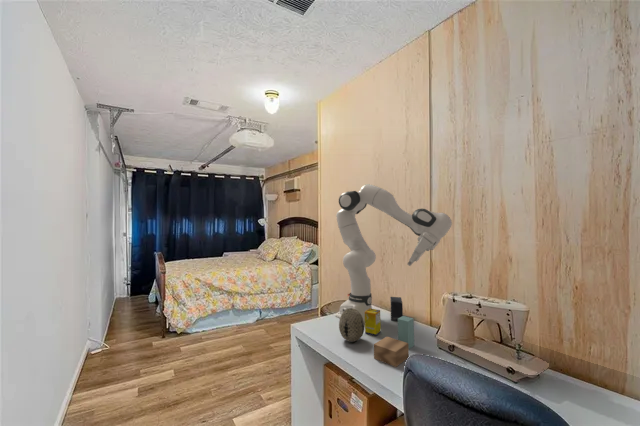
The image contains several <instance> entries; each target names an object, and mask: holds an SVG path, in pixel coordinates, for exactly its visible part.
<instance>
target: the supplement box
mask: <svg viewBox="0 0 640 426" xmlns="http://www.w3.org/2000/svg"><path fill="white" fill-rule="evenodd" d="M381 325H382V324H381V310H380V309H376V308H372V309H371V308H369V309H368V310H366V311H365V323H364V334H365V335H370V336H373V337H377V336H378V335H379V334H380V333H381V331H382V329H381V327H382V326H381Z"/></svg>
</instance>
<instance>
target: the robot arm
mask: <svg viewBox="0 0 640 426" xmlns="http://www.w3.org/2000/svg"><path fill="white" fill-rule="evenodd" d="M394 196H395V195H393V193H391V192H389V191H388V190H386V189H384V188H381V187H380V186H377V185H373V184H370V183H367V184H364V185H362V186H361V188H360V189H359V191H357V190H353V191H352V190H351V191H350V190H349V191H345V192H342V193H341V195H339V197H338V205H339V207H340V208H341V209H339V210H338V211H337V212H336V214H335V217H336V222H337V226H338V230H339V233H340V236H341V238H342V239H341V240H342V241H343V243H344V244H345V245H346V246H347V247H348V249H350V251H349V252H347V253H345V254H344V255H343V257H342V264H343V266H344V268H345V269H346V270H347V272H348V276H349V279H350V281H349V282H350V292H349V293H347V297H348V299H347V300H345V301H344V302H343V303H341V305H340V306H339V311H338V312H336V314H335V317H337V318H338V319H340V317H341V315H342V313H343V312H344V311H345V310H346V309H349V308H354V309H356V310H357V311H359V313H360V314H361V315H362V318H363V321H364V324H365V311H366V310H368V309H369V308H371V309H373V307H372V305H373V304H372V303H373V300H372V299H373V298H372V297H373V295H372V293H371V291H372V290H371V289H372V288H371V286H372V285H371V278H370V277H369V276H368V272H367V268H368V267H371V266H372V265H373V264H375V261H376V259H377V256H376V252H375V251H374V250H373V249H371V247H370V246H369V245H368V243H367V242H366V240H365V239H364V236H363V235H362V232H361V229H360V227H359V223H358V221H357V219H356V215H358V214H360V213H361V212H362V211H363V210H364V209H366V207H367V206H368V205H369V206H371V207H373V208H374V209H377V210H378V211H380V212H383V213H384V214H386V215H388V216H389V217H392V218H393V219H394V220H396V221H398V222H400V223H401V224H403V225H404V226H406V227H408V228H409V229H411V231H412V232H413V233H414V234H415V235H416V236H418V238H417V245H416V246H415V248H414V250H413V252H412V254H411V255H410V258H409V259H408V262H407V265H408V266H409V267H411V266H412V265H413V264H414V263H415V262H418V261H419V260H420V258H421V257H422V256H423V255H424V253H425V252H429V251H433V250H434V249H435V248H436V247H437V246H438V244H439V243H440V242H441V240H442V238H444V237H445V236H446V235H447V233H448V232H450V229H451V228H452V225H453V222H452V219H451V218H450V216H449V215H448V214H447V213H445V212H434V211H431V210H428V209H426V208H418V209H415V210H414V211H413V212H412V214H410V213H408V212H407V211H405V210H404V209H403V208H401V207H400V205H399V204H398V202H397V201H396V198H395V197H394Z"/></svg>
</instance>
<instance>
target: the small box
mask: <svg viewBox="0 0 640 426" xmlns="http://www.w3.org/2000/svg"><path fill="white" fill-rule="evenodd" d="M403 308H404V305H403V300H402V297H399V296H390V321H395V322H398V318H400V317H402V316H404V315H403V314H404V311H403Z"/></svg>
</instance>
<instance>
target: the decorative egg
mask: <svg viewBox="0 0 640 426" xmlns="http://www.w3.org/2000/svg"><path fill="white" fill-rule="evenodd" d="M338 329H339V332H340V333H339V334H340V336H341V337H342V338H343V339H344V340H346V341H348V342H351V343H353V342H357V341H359V340H361V338H362V337H363V335H364V334H365V323H364V321H363V318H362V315H361V314H360V313H359V311H357V310H356V309H354V308H349V309H346V310H345V311H344V312H343V313H342V315H341V317H340V318H339V321H338Z"/></svg>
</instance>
